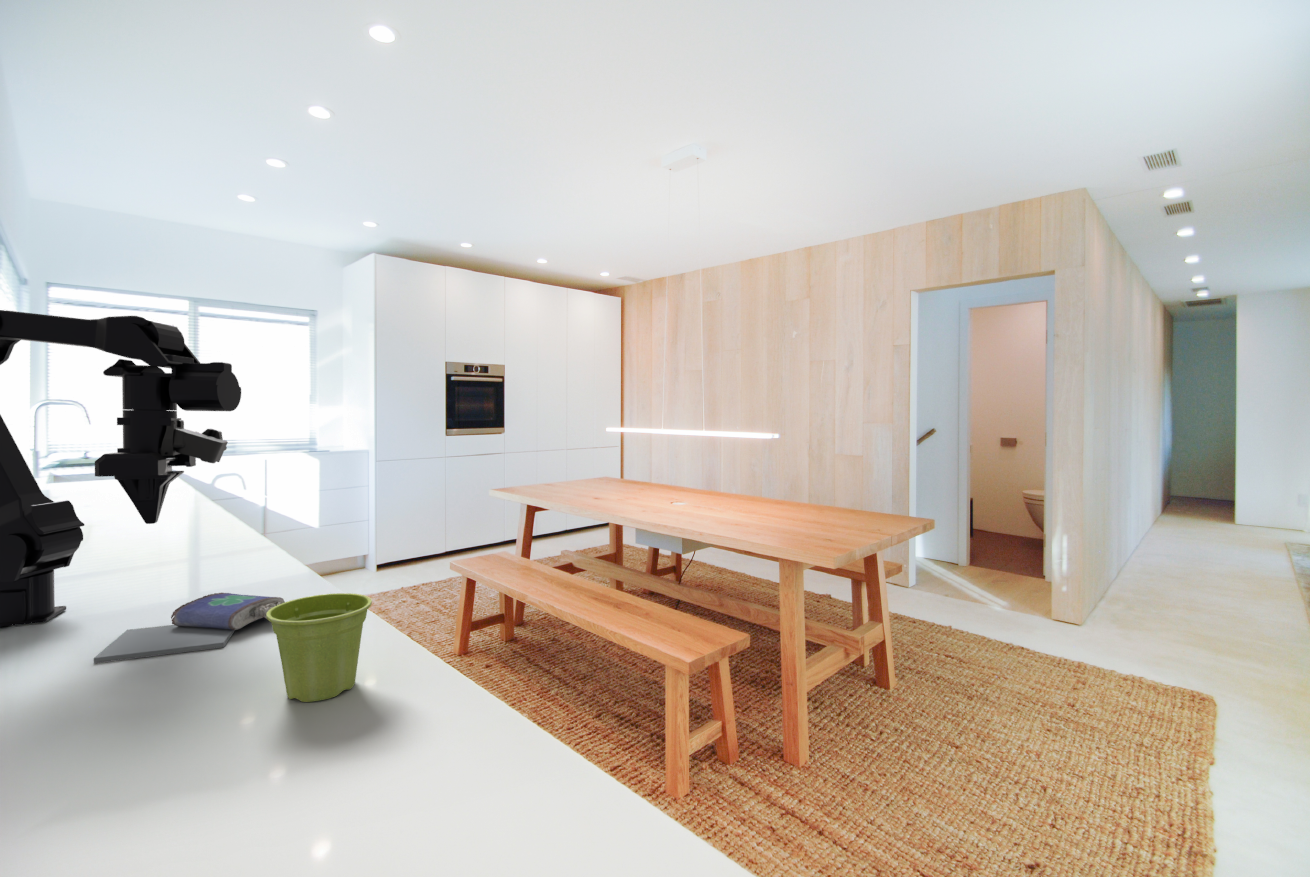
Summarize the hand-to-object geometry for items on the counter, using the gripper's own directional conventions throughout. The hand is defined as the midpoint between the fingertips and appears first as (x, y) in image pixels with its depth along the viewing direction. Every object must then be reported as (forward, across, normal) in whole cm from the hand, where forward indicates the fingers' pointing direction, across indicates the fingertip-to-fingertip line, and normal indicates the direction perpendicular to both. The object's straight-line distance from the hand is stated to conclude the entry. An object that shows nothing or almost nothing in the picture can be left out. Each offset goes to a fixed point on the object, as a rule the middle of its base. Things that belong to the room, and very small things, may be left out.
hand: (151, 523), depth 82 cm
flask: (+11, -5, -7) cm, 14 cm away
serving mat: (+13, -12, -6) cm, 19 cm away
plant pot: (+13, -35, -23) cm, 44 cm away
